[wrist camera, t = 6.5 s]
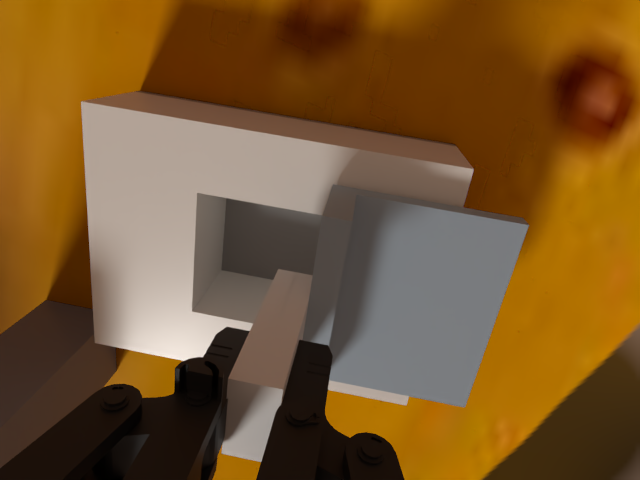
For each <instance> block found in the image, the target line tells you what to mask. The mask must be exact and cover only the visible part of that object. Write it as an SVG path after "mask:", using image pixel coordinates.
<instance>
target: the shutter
mask: <svg viewBox="0 0 640 480" xmlns="http://www.w3.org/2000/svg"><path fill="white" fill-rule="evenodd" d="M528 227H529V225H528V223H527V222H526V221H525V220H524V219H523V218H520V217H514V216H509V215H503V214H498V213H492V212H486V211H481V210H475V209H469V208H464V207H458V206H452V205H447V204H441V203H435V202H430V201H424V200H419V199H413V198H407V197H402V196H396V195H390V194H385V193H379V192H373V191H368V190H362V189H356V188H351V187H345V186H340V185H334V184H333V186H332V188H331V191H330V194H329V197H328V200H327V203H326V206H325V209H324V212H323V215H322V219H321V226H320V232H319V238H318V245H317V251H316V257H315V263H314V270H313V276H312V282H311V289H310V295H309V302H308V308H307V315H306V321H305V327H304V334H303V341H309V342H314V343H319V344H324V345H328V346H329V348H330V350H331V353H332V355H333V358H332V365H331V372H330V378H329V380H330V381H335V382H340V383H345V384H350V385H355V386H360V387H365V388H370V389H375V390H380V391H385V392H390V393H395V394H400V395H405V396H410V397H415V398H420V399H425V400H430V401H435V402H440V403H445V404H450V405H455V406H460V407H465V406H466V403H467V400H468V397H469V394H470V391H471V389H472V386H473V383H474V380H475V377H476V374H477V372H478V369H479V366H480V363H481V360H482V357H483V355H484V352H485V349H486V346H487V343H488V340H489V337H490V335H491V332H492V329H493V326H494V323H495V320H496V318H497V315H498V312H499V309H500V306H501V303H502V301H503V298H504V295H505V292H506V289H507V286H508V283H509V281H510V278H511V275H512V272H513V269H514V266H515V264H516V261H517V258H518V255H519V252H520V249H521V247H522V244H523V241H524V238H525V235H526V232H527V229H528Z"/></svg>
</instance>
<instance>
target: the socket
mask: <svg viewBox="0 0 640 480" xmlns="http://www.w3.org/2000/svg"><path fill="white" fill-rule="evenodd" d="M81 108H82V126H83V144H84V162H85V179H86V197H87V215H88V232H89V250H90V268H91V286H92V303H93V321H94V339H95V343H98V344H103V345H108V346H113V347H118V348H123V349H128V350H133V351H138V352H143V353H147V354H152V355H157V356H162V357H167V358H172V359H177V360H182V361H185V360H187V359H190V358H196V357H203V356H204V354H206V351H207V349H208V347H209V346H210V344H211V342H212V340H213V339H214V337H215V335H216V334H217V333H218V332H220V331H221V330H223V329H224V328H226V327H232V328H237V329H242V330H247V331H250V330H251V327H252V325H253V323H254V321H255V319H256V316H257V314H258V312H259V310H260V308H261V306H262V303H263V301H264V299H265V297H266V295H267V292H268V290H269V288H270V286H271V284H272V282H273V279H274V277H275V275H276V273H277V271H278V269H281V270H287V271H292V272H297V273H303V274H308V275H313V270H314V263H315V257H316V251H317V245H318V238H319V232H320V226H321V219H322V215H323V212H324V209H325V206H326V203H327V200H328V197H329V194H330V191H331V188H332V186H333V184H334V185H340V186H345V187H351V188H356V189H362V190H368V191H373V192H379V193H385V194H390V195H396V196H402V197H407V198H413V199H419V200H424V201H430V202H435V203H441V204H447V205H452V206H458V207H463V206H464V202H465V199H466V195H467V192H468V189H469V185H470V182H471V178H472V175H473V171H474V169H473V167H472V166H471V165H470V163H469V162H468V161H467V159H466V158H465V157H464V156H463V154H462V153H461V152H460V150H459V149H458V148H457V146H456V145H455V144H449V143H443V142H437V141H432V140H426V139H420V138H414V137H408V136H402V135H396V134H390V133H385V132H379V131H373V130H367V129H361V128H355V127H349V126H343V125H338V124H332V123H326V122H320V121H314V120H308V119H302V118H296V117H291V116H285V115H279V114H273V113H267V112H261V111H255V110H249V109H244V108H238V107H232V106H226V105H220V104H214V103H208V102H202V101H197V100H191V99H185V98H179V97H173V96H167V95H161V94H155V93H150V92H144V91H136V92H130V93H125V94H119V95H114V96H108V97H103V98H97V99H92V100H86V101H81ZM328 390H332V391H337V392H342V393H347V394H352V395H357V396H362V397H366V398H371V399H376V400H381V401H386V402H391V403H396V404H401V405H407V402H408V398H409V396H405V395H400V394H395V393H390V392H385V391H380V390H375V389H370V388H365V387H360V386H355V385H350V384H345V383H340V382H335V381H330V380H329V385H328Z"/></svg>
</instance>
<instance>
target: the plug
mask: <svg viewBox="0 0 640 480" xmlns="http://www.w3.org/2000/svg"><path fill="white" fill-rule="evenodd" d="M116 371H117V369H116V347H113V346H108V345H103V344H98V343H95V339H94V321H93V309H89V308H84V307H79V306H74V305H69V304H64V303H59V302H54V301H49V300H45V301H44V302H43V303H42V304H40V305H39V306H38V307H36V308H35V309H34V310H32V311H31V312H30V313H28V314H27V315H26V316H24V317H23V318H22V319H20V320H19V321H18V322H16V323H15V324H14V325H12V326H11V327H10V328H8V329H7V330H6V331H5V332H3V333H2V334H1V335H0V468H1V467H2V466H4V465H5V464H6V463H7V462H9V461H10V460H11V459H12V458H14V457H15V456H16V455H17V454H19V453H20V452H21V451H22V450H24V449H25V448H26V447H27V446H29V445H30V444H31V443H32V442H34V441H35V440H36V439H37V438H39V437H40V436H41V435H42V434H44V433H45V432H46V431H47V430H49V429H50V428H51V427H52V426H54V425H55V424H56V423H57V422H59V421H60V420H61V419H62V418H64V417H65V416H66V415H67V414H69V413H70V412H71V411H72V410H74V409H75V408H76V407H77V406H79V405H80V404H81V403H82V402H84V401H85V400H86V399H87V398H89V397H90V396H91V395H92V394H94V393H95V392H97V391H98V390H100V389H102V388H103V387H104V386H105V384H106V383H107V382H108V381H109V379H110V378H111V377H112V376H113V374H114V373H115V372H116Z"/></svg>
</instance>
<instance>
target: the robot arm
mask: <svg viewBox="0 0 640 480" xmlns="http://www.w3.org/2000/svg"><path fill="white" fill-rule="evenodd" d="M312 276H313V275H308V274H303V273H297V272H292V271H287V270H281V269H278V271H277V273H276V275H275V277H274V279H273V282H272V284H271V286H270V288H269V290H268V292H267V295H266V297H265V299H264V301H263V303H262V306H261V308H260V310H259V312H258V314H257V316H256V319H255V321H254V323H253V325H252V327H251V330H250V331H247V330H242V329H237V328H232V327H226V328H224V329H223V330H221V331H220V332H218V333H217V334H216V335H215V337H214V339H213V340H212V342H211V344H210V346H209V347H208V349H207V351H206V354H204V356H203V357H196V358H190V359H187V360H185V361H183V362H181V363H180V364H179V365H178V366H177V367H176V368H175V392H174V394H172V395H169V396H165V397H157V398H142V395H141V393H140V391H139V390H138V389H136V388H135V387H133V386H130V385H126V384H113V385H110V386H107V387H103V388H102V389H100V390H98V391H97V392H95V393H94V394H92V395H91V396H90V397H89V398H87V399H86V400H85V401H84V402H82V403H81V404H80V405H79V406H77V407H76V408H75V409H74V410H72V411H71V412H70V413H69V414H67V415H66V416H65V417H64V418H62V419H61V420H60V421H59V422H57V423H56V424H55V425H54V426H52V427H51V428H50V429H49V430H47V431H46V432H45V433H44V434H42V435H41V436H40V437H39V438H37V439H36V440H35V441H34V442H32V443H31V444H30V445H29V446H27V447H26V448H25V449H24V450H22V451H21V452H20V453H19V454H17V455H16V456H15V457H14V458H12V459H11V460H10V461H9V462H7V463H6V464H5V465H4V466H2V467H1V468H0V480H212V479H213V476H214V473H215V471H216V465H217V455H218V453H219V450H220V448H221V445H222V454H226V455H231V456H235V457H240V458H245V459H250V460H254V461H259V462H261V465H260V468H259V472H258V475H257V479H256V480H404V477H403V474H402V471H401V468H400V465H399V461H398V458H397V455H396V452H395V451H394V449H393V447H392V445H391V444H390V443H389V442H388V441H386V440H385V439H384V438H382V437H380V436H378V435H376V434H372V433H366V432H365V433H358V434H356V435H354V436H352V437H351V438H349V437H347V436H345V435H343V434H341V433H340V432H338V431H336V430H335V429H334V428H333V427H332V426H331V425H330V424H329V422H328V421H327V419H326V416H325V404H326V398H327V391H328V385H329V378H330V372H331V365H332V358H333V355H332V353H331V350H330V348H329V346H328V345H324V344H319V343H314V342H309V341H303V334H304V327H305V321H306V315H307V308H308V302H309V295H310V289H311V282H312ZM222 443H223V444H222Z"/></svg>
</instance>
